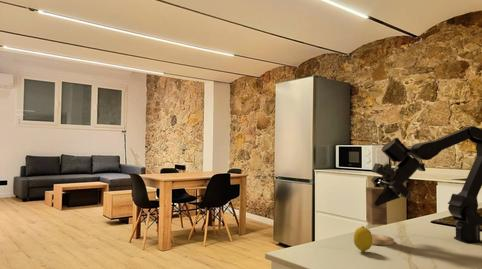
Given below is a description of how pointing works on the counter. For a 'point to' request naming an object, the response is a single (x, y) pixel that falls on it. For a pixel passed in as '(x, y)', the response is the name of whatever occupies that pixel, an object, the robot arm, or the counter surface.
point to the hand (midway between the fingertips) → (372, 203)
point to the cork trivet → (382, 240)
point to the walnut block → (375, 207)
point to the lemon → (363, 239)
